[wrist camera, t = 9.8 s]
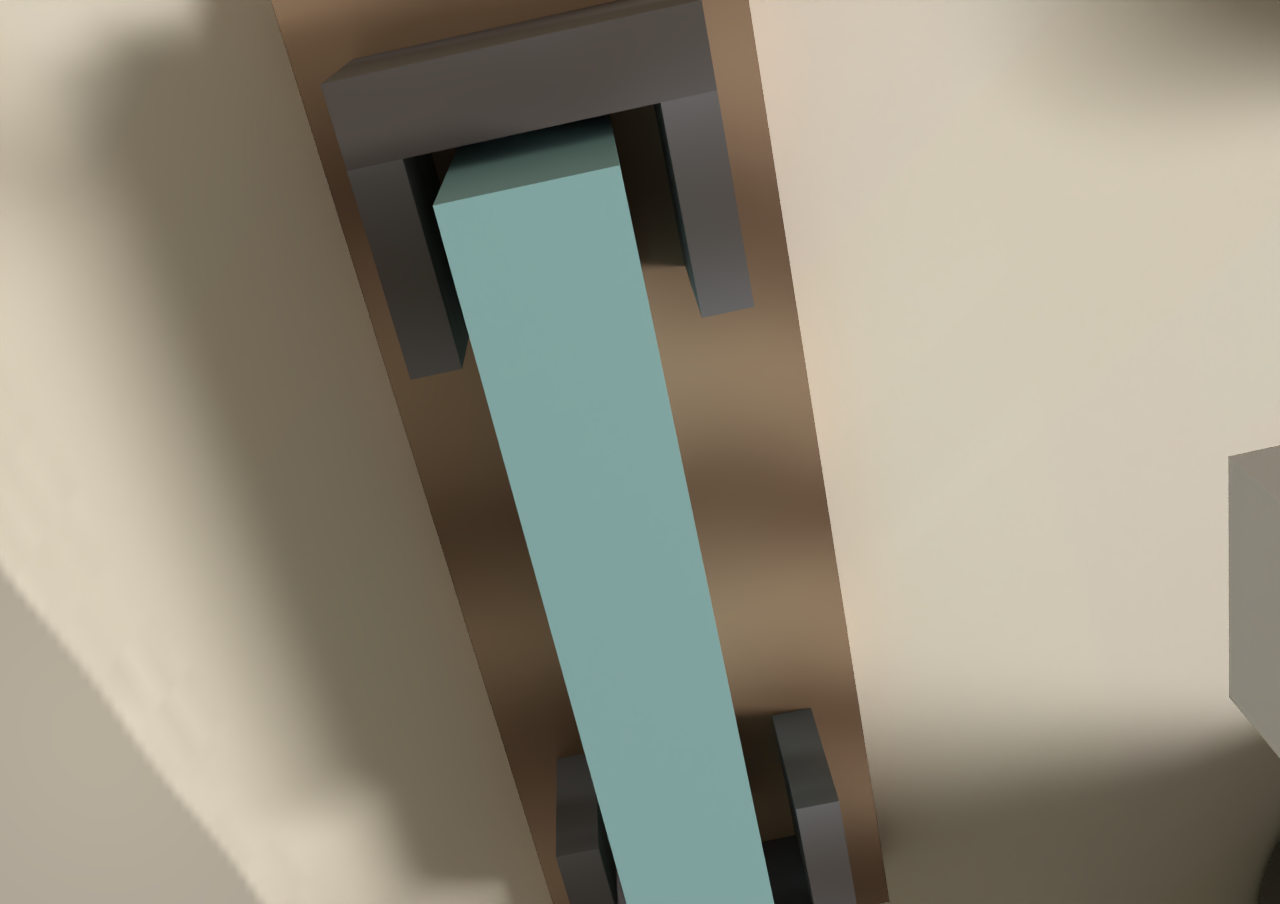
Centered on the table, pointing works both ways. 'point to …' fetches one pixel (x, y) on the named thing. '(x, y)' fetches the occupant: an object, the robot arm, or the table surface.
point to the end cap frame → (692, 365)
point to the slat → (604, 502)
